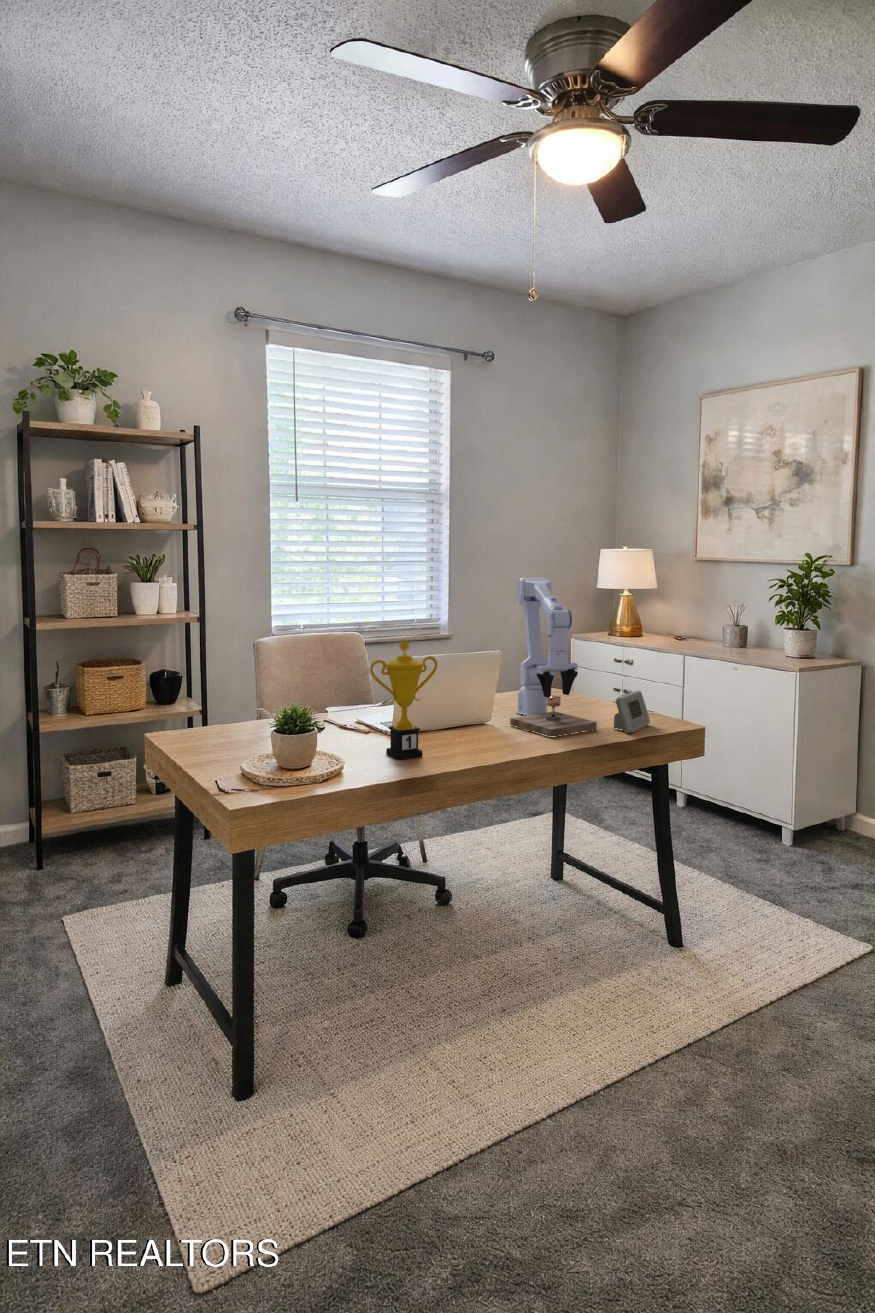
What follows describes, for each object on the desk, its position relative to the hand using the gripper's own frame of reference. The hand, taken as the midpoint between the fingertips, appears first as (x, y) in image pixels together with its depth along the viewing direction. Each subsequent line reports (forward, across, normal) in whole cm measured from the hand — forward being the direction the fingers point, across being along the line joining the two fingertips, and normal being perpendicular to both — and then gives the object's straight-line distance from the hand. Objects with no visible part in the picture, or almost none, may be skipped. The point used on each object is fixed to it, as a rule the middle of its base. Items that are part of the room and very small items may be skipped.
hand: (556, 695), depth 238 cm
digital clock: (+10, +19, -13) cm, 25 cm away
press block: (+10, 0, +1) cm, 10 cm away
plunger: (+6, 0, +1) cm, 6 cm away
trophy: (+10, -55, -2) cm, 56 cm away
